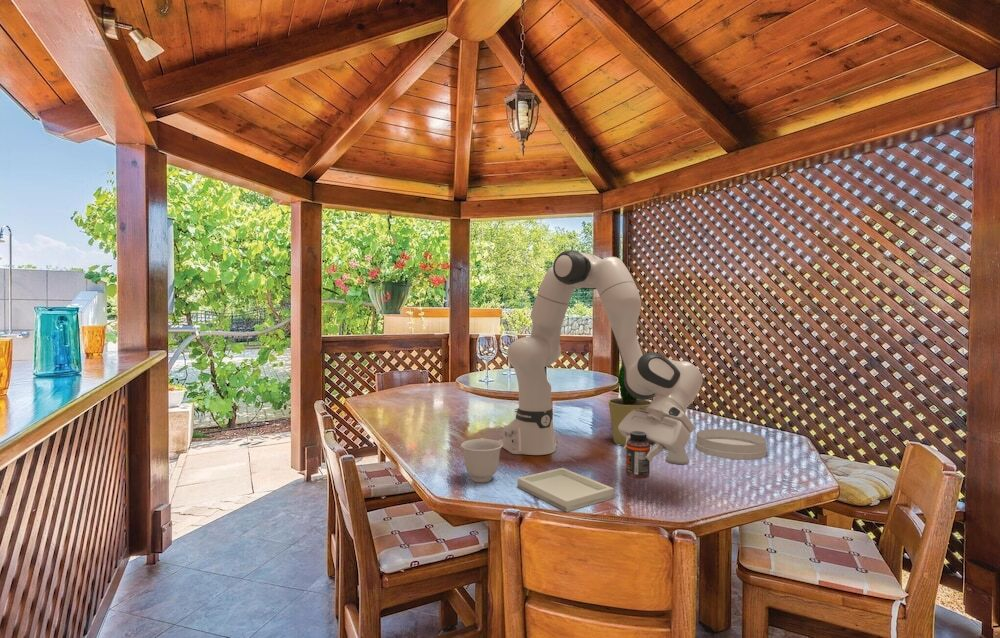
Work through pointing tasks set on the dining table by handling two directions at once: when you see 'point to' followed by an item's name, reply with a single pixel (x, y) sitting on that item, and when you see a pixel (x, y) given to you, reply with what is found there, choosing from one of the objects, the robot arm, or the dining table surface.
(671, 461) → the flask
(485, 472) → the teacup
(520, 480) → the tray
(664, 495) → the dining table surface
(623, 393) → the potted cactus
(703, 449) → the dish
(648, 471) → the supplement bottle
